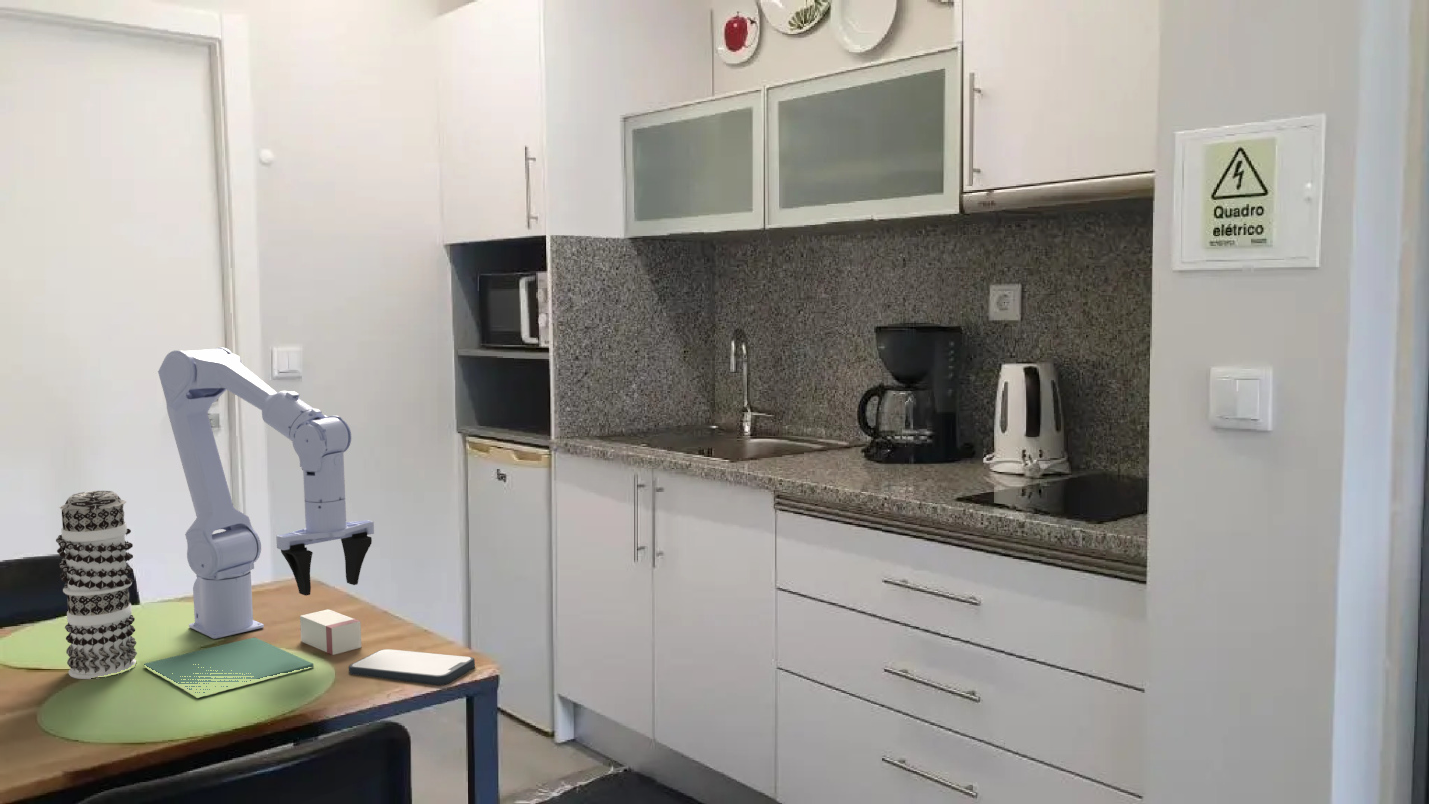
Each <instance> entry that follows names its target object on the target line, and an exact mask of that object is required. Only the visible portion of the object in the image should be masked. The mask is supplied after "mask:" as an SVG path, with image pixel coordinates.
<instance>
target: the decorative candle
mask: <svg viewBox="0 0 1429 804" xmlns="http://www.w3.org/2000/svg"><path fill="white" fill-rule="evenodd" d="M126 503H127V500H124V499H122V498H121V497H120V496H119V495H118V494H117V493H116V492H114V491H113V490H90V491H82V492H78V493H73V494H72V495H70V496H69V497H68V498H67V500H66V501H65V504H63V505H60V507H59V509H60V510H61V522H62V523H61V524H62V528H61V534H59V535H57V536H58V537H57V538H56V539H55V542H56V543H57V544H58V546H59V548H57V550H56V552H57V554H58V556H59V557H60V558H62V559H61V561H60V563H59V564H58V567H59V569H60V570H61V574H60V576H59V577H60V579H61V581H62V582H63V583H65V584H64V587H62V592H63V594H65V595H66V597H67V610H68V611H67V612H66V617H67V624H66V625H65V626H64V629H65V630H66V632H67V633H68V635H66V637H65V640H66V641H67V643H68V644H69V646H68V647H67V648H66V651H65V652H66V655H67V656H68V659H67V660H66V661H67V662H66V663H67V665H68V667H69V670H68V675H69V676H70V678H73V679H77V680H92V679H91V678H94V677H98V676H104V675H108V674H111V673H117V672H120V671H121V670H125V669H128V668H129V667H131V666H132V665H134V664H135V663H136V661H137V660H136V659H135V658H136V656H137V654H138V652H137V651H136V648H135V646H136V645H137V641H136V639H135V637H134V636H132V635H134V632H135V631H136V628H135V626H134V625H132V624H133V623H134V622H135V617H134V615H133V612H132V603H131V602H130V600H129V599H130V591H129V587H131V586H132V584H133V581H134V580H133V579H132V578H130V577H129V575H130V574H131V573H133V571H134V568H133V567H129V566H127V562H129V561H130V560H132V559H133V558H134V555H133V554H132V553H130V552H128V551H129V550H131V549H132V548H133V546H134V545H133V543H132V542H129V541H128V540H125V539H126V538H125V537H127V536H128V535H129V534H130V533H132V530H131V528H127V522H126V521H125V511H124V505H125V504H126Z"/></svg>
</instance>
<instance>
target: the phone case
mask: <svg viewBox="0 0 1429 804" xmlns="http://www.w3.org/2000/svg"><path fill="white" fill-rule="evenodd" d="M475 667H476V662H475V658H474V657H472V656H464V655H454V654H453V655H452V654H445V653H444V654H443V653H442V654H441V653H435V652H434V653H432V652H423V651H412V650H402V649H401V650H400V649H393V648H392V649H390V648H386V649H380V650H377V651H376V652H374V653H371V654H369V655H367V656H365V657H364V658H361V659H359V660H357V661H355V662H353V663H351V664H349V666H348V673H349V674H350V675H353V674H354V675H353V676H355V675H356V676H361V677H362V676H363V677H369V678H370V677H371V678H378V679H385V680H392V681H399V680H400V681H401V682H409V683H416V684H417V683H418V684H424V685H425V684H427V685H432V686H444V685H447V684H450V683H452V681H455V680H457V679H458V678H460V677H461V676H463V675H465V674H467V673H468V672H470V671H471V670H473V669H475ZM472 668H473V669H472ZM469 670H470V671H469Z"/></svg>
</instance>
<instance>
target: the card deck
mask: <svg viewBox="0 0 1429 804" xmlns="http://www.w3.org/2000/svg"><path fill="white" fill-rule="evenodd" d="M299 620H300V621H299V622H300V625H299V626H300V641H301V642H302V643H304V644H307V645H308V646H311V647H314V648H316V649H318V650H320V651H323V652H325V653H327V654H330V655H332V656H334V655H338V654H343V653H345V652H350V651H353V650H356V649H360V648H362V630H361V629H362V627H361V626H362V625H361V620H359V619H357V618H354V617H350V616H347V615H344V614H342V613H339V612H337V611H334V610H332V609H324V610H319V611H315V612H310V613H306V614H301V615H300V616H299Z"/></svg>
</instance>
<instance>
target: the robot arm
mask: <svg viewBox="0 0 1429 804" xmlns="http://www.w3.org/2000/svg"><path fill="white" fill-rule="evenodd" d="M157 373H158V376H159V380H160V383H161V386H162V387H161V388H162V392H163V394H164V399H165V402H166V411H167V415H168V420H169V423H170V425H171V429H172V433H173V437H174V441H175V444H176V448H177V451H178V455H179V458H180V462H181V465H182V470H183V472H184V476H185V479H186V483H187V487H188V490H189V494H190V495H189V496H190V497H191V501H192V505H193V509H194V512H195V516H196V518H195V520H194V521H193V523H192V524H191V525H190V527H189V528H188V529H187V530H186V532H185V534H184V535H185V539H186V544H187V545H186V546H187V547H186V548H187V549H186V558H187V563H188V566H189V567H190V569H191V571H192V572H193V573H194V574H195V575H196V579H195V581H194V583H193V588H192V592H193V594H192V595H193V611H194V614H193V615H194V622H192V623H189V624H188V627H189V628H191V629H192V630H194V631H197V632H199V633H200V634H203V635H205V636H207V637H210V638H211V639H214V640H215V639H220V638H224V637H228V636H233V635H237V634H242V633H245V632H250V631H255V630H258V629H259V630H260V629H262V628H264V626H265V624H264V623H262V622H259V621H256V620H255V619H254V611H253V609H254V608H253V593H252V592H253V591H252V572H251V571H253V570H254V569H255V563H256V562H257V561H258V560H259V558H260V557H261V553H262V543H261V539H260V537H259V535H258V533H257V532H256V530H255V529H254V528H253V526H252V523H251V520H250V517H249V516H248V515H246V514H245V513H243V512H241V511H240V510H238V509H236V508H235V507H234V504H233V500H232V496H231V493H230V489H229V486H228V483H227V477H226V475H225V472H224V467H223V464H222V460H221V457H220V453H219V450H218V447H217V442H216V439H215V435H214V432H213V428H212V425H211V421H210V416H209V414H208V413H209V410H210V408H211V407H212V405H213V404H214V403H215V402H217V400H219V398H220V397H222V395H223V394H224V393H225V392H226V391H227V392H228V391H229V392H230V393H232V394H233V395H235V396H237V397H239V398H240V399H242V400H243V401H246V402H247V403H249V404H250V405H252V406H254V407H255V408H257V409H259V410H260V411H261V417H262V420H263V422H264V423H266V424H267V425H268V426H270V427H271V428H273V429H274V430H275V431H277V432H278V433H280V434H281V435H282V436H284V437H285V438H287V439H288V440H289V441H291V442H292V447H293V449H294V451H295V454H296V455H297V456H298V459H299V467H301V470H302V472H303V473H302V474H303V492H304V493H303V497H304V518H305V527H304V528H301V529H297V530H294V531H291V532H287V533H283V534H278V535H276V548H277V550H280V553H281V554H282V556H283V557H284V559H285V561H286V562H287V564H288V566H289V568H290V569H291V572H292V575H293V576H294V579H295V582H296V585H297V588H298V589H297V590H298V594H300V595H303V596H310V595H311V590H312V586H311V563H312V558H313V554H314V553H313V551H312V550H309V549H308V547H307V546H308V545H309V546H310V545H315V544H319V543H325V542H330V541H335V540H340V541H341V545H342V550H343V556H344V562H345V563H344V564H345V565H344V566H345V581H346V584H349V585H352V586H356V585H358V584H359V579H360V574H361V569H362V566H363V563H364V560H365V558H366V554H367V553H368V550H369V549H370V547H371V545H372V543H373V541H372V539H373V538H372V537H371V536H369V535H374V534H375V526H374V525H375V524H374V520H369V519H364V520H356V521H354V520H353V521H347V511H346V509H347V508H346V507H347V506H346V486H345V485H346V481H345V461H344V460H345V459H344V458H345V457H344V453H345V452H347V451H348V449H349V448H350V446H351V444H352V443H351V442H352V432H351V429H350V426H349V425H348V423H347V422H346V421H345V420H344V419H343V418H342V417H341V416H339V415H328V416H327V415H326V414H323V412H322V411H321V410H320V409H319V408H314V407H313V406H311V405H309V404H308V403H307V402H305V401H303V400H302V399H301V398H300V394H299V393H298V392H296V391H295V390H293V391H288V390H281V391H278V392H277V391H276V390H275V389H274V388H272V387H271V386H269V385H268V383H266V382H264V381H263V380H262V379H261V378H259V376H257V375H256V374H255V373H254V372H252V371H251V370H250V369H249V368H247V367H246V366H244V365H243V363H242V359H241V357H240V356H239V355H237V354H235V353H233V352H232V351H231V350H230V349H229V348H226V347H216V348H209V349H208V348H207V349H194V350H192V349H190V350H180V349H177V350H173V351H169V352H168V354H166V356H165V357H164V359H163V361H162V363H161V365H160V367H159V369H158V371H157ZM219 530H224V531H220V532H217V533H214V532H215V531H219Z"/></svg>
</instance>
